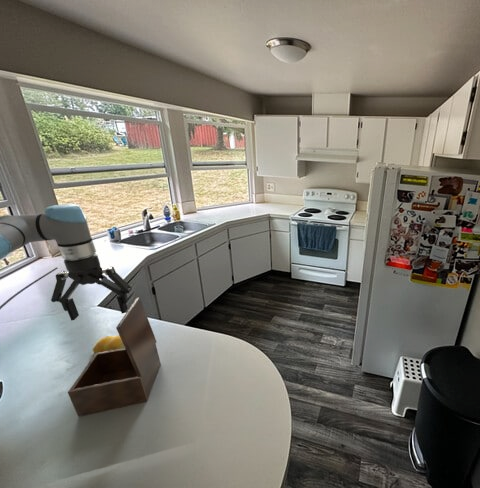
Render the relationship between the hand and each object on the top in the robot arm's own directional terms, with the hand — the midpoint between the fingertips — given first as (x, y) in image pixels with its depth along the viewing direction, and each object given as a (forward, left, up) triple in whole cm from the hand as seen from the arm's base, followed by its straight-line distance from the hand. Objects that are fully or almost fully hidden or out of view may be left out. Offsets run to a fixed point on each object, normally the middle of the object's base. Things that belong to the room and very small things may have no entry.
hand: (100, 314), depth 83 cm
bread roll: (0, 0, -14) cm, 14 cm away
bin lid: (+26, +3, +3) cm, 26 cm away
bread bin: (+22, -2, -14) cm, 26 cm away
